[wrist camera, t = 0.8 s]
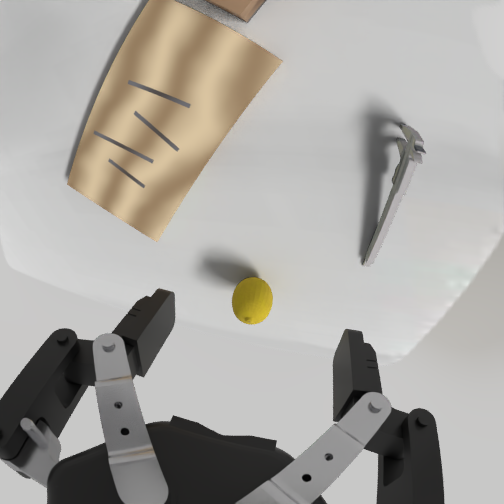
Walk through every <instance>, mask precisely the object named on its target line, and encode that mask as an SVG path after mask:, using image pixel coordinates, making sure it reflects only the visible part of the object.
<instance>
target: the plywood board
mask: <svg viewBox="0 0 504 504" xmlns="http://www.w3.org/2000/svg"><path fill="white" fill-rule="evenodd" d="M282 62H283V61H282V60H280V59H279V58H277V57H276V56H274V55H273V54H271V53H270V52H268V51H267V50H265V49H264V48H262V47H260V46H259V45H257V44H256V43H254V42H252V41H251V40H249V39H247V38H246V37H244V36H242V35H241V34H239V33H237V32H236V31H234V30H232V29H230V28H229V27H227V26H225V25H223V24H221V23H219V22H218V21H216V20H214V19H212V18H210V17H208V16H206V15H204V14H202V13H200V12H198V11H196V10H194V9H192V8H190V7H188V6H186V5H183V4H181V3H179V2H177V1H175V0H149V1H148V3H147V4H146V6H145V7H144V9H143V10H142V12H141V14H140V15H139V17H138V18H137V20H136V22H135V23H134V25H133V27H132V28H131V30H130V32H129V34H128V35H127V37H126V39H125V41H124V43H123V44H122V46H121V48H120V50H119V52H118V54H117V56H116V58H115V60H114V62H113V64H112V66H111V68H110V70H109V72H108V74H107V76H106V78H105V80H104V83H103V85H102V87H101V89H100V92H99V94H98V96H97V99H96V101H95V103H94V106H93V108H92V111H91V113H90V116H89V118H88V121H87V124H86V126H85V129H84V132H83V135H82V138H81V140H80V143H79V146H78V149H77V152H76V156H75V159H74V162H73V165H72V169H71V172H70V176H69V179H68V183H67V185H69V186H70V187H72V188H73V189H75V190H76V191H78V192H79V193H81V194H82V195H84V196H85V197H87V198H88V199H90V200H91V201H93V202H94V203H96V204H98V205H99V206H101V207H102V208H104V209H105V210H107V211H108V212H110V213H111V214H113V215H115V216H116V217H118V218H119V219H121V220H122V221H124V222H126V223H127V224H129V225H130V226H132V227H134V228H135V229H137V230H138V231H140V232H142V233H143V234H145V235H146V236H148V237H150V238H151V239H153V240H154V241H156V242H158V240H159V238H160V237H161V235H162V233H163V231H164V230H165V228H166V226H167V225H168V223H169V221H170V220H171V218H172V217H173V215H174V213H175V212H176V210H177V208H178V207H179V205H180V204H181V202H182V200H183V199H184V197H185V196H186V194H187V193H188V191H189V189H190V188H191V186H192V185H193V183H194V182H195V180H196V179H197V177H198V176H199V174H200V173H201V171H202V170H203V168H204V167H205V165H206V164H207V162H208V161H209V159H210V158H211V156H212V155H213V153H214V152H215V150H216V149H217V148H218V146H219V145H220V143H221V142H222V140H223V139H224V138H225V136H226V135H227V133H228V132H229V131H230V129H231V128H232V126H233V125H234V124H235V122H236V121H237V119H238V118H239V117H240V115H241V114H242V113H243V111H244V110H245V109H246V107H247V106H248V105H249V103H250V102H251V101H252V99H253V98H254V97H255V95H256V94H257V93H258V92H259V90H260V89H261V88H262V86H263V85H264V84H265V83H266V81H267V80H268V79H269V78H270V76H271V75H272V74H273V73H274V71H275V70H276V69H277V68H278V66H279V65H280V64H281V63H282Z"/></svg>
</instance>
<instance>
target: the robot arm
mask: <svg viewBox="0 0 504 504" xmlns="http://www.w3.org/2000/svg"><path fill="white" fill-rule="evenodd" d="M174 323H175V295H174V292H171V291H167V290H163V289H157V290H156V291H155V293H154V294H153V295H152V296H151V297H149V296H145V297H144V298H142V299H140V300H138V301H137V302H136V303H135V305H134V306H133V307H132V309H130V311H129V312H128V314H126V316H125V317H124V318H123V319H122V321H121V322H120V323H119V324H118V326H117V327H116V328H115V330H114V331H113V332H112V333H107V334H102V335H100V336H98V337H97V338H96V339H95V340H94V341H91V340H81V339H78V338H77V335H76V333H75V332H74V331H73V330H71V329H65V328H64V329H59V330H56V331H55V332H53V333H52V334H51V335H50V337H49V338H48V339H47V340H46V341H45V342H44V344H43V345H42V346H41V347H40V349H39V350H38V351H37V352H36V353H35V355H34V356H33V357H32V358H31V360H30V361H29V362H28V364H27V365H26V366H25V368H24V369H23V370H22V371H21V373H20V374H19V375H18V376H17V378H16V379H15V380H14V382H13V383H12V384H11V386H10V387H9V389H8V390H7V391H6V393H5V394H4V395H3V397H2V398H1V400H0V459H1V460H2V461H3V462H4V463H5V464H7V465H8V466H9V467H10V468H12V469H13V470H15V471H16V472H18V473H19V474H20V475H22V476H23V477H25V478H29V479H30V478H32V479H33V480H35V481H36V482H38V483H40V484H41V485H43V486H44V487H46V488H47V504H327V503H326V501H325V500H324V499H323V497H322V496H321V494H322V493H323V492H324V491H325V490H326V489H327V488H328V487H329V486H330V485H331V484H332V483H333V482H334V481H335V480H336V479H337V477H339V476H340V474H341V473H342V472H343V471H344V470H345V469H346V468H347V467H348V466H349V464H351V462H352V461H353V460H354V459H355V458H356V457H357V455H358V454H359V453H360V452H361V451H362V450H363V449H366V450H369V451H371V452H374V453H377V454H378V487H377V488H378V489H377V504H444V487H443V474H442V464H441V456H440V448H439V440H438V434H437V427H436V422H435V418H434V417H433V415H432V414H431V413H430V412H428V411H427V410H425V409H421V408H418V409H414V410H412V411H411V412H410V413H409V414H408V413H405V412H402V411H399V410H396V409H394V408H392V407H391V404H390V402H389V400H388V399H387V398H386V397H385V396H384V395H383V394H382V388H381V382H380V376H379V370H378V363H377V358H376V352H375V351H374V349H373V348H372V346H371V345H370V344H369V343H364V340H363V334H362V332H361V331H356V330H350V329H345V331H344V333H343V335H342V338H341V340H340V343H339V345H338V347H337V350H336V352H335V355H334V359H333V421H335V422H338V423H337V424H334V425H332V427H330V428H329V429H328V430H327V431H326V432H325V433H324V434H323V435H322V436H321V437H320V438H319V439H318V440H317V441H316V442H314V443H313V444H312V445H311V446H310V447H309V448H308V449H307V450H305V451H304V452H303V453H302V454H301V455H300V456H299V457H298V458H296V459H294V458H293V457H292V456H291V455H289V454H288V453H286V452H285V451H283V450H281V449H279V448H276V442H277V441H276V440H270V439H265V438H260V437H255V436H225V435H221V434H218V433H216V432H214V431H212V430H210V429H208V428H206V427H205V426H203V425H201V424H199V423H197V422H193V421H190V420H187V419H183V418H180V417H177V416H173V417H172V419H171V421H170V422H168V421H160V422H153V423H148V424H145V422H144V419H143V416H142V412H141V409H140V406H139V402H138V399H137V395H136V391H135V387H134V384H133V379H134V377H135V375H139V376H142V377H144V376H145V374H146V373H147V371H148V369H149V368H150V366H151V364H152V363H153V361H154V359H155V357H156V355H157V354H158V352H159V351H160V349H161V347H162V346H163V344H164V342H165V340H166V339H167V337H168V336H169V334H170V332H171V331H172V328H173V326H174ZM88 386H95V389H96V395H97V402H98V407H99V413H100V419H101V424H102V428H103V433H104V438H105V443H103V444H100V445H98V446H96V447H93V448H91V449H88V450H86V451H84V452H81V453H78V454H76V455H73V456H70V457H68V458H65V459H63V460H61V461H59V455H60V452H61V445H60V442H59V440H58V437H59V436H60V434H61V432H62V430H63V428H64V427H65V425H66V423H67V421H68V419H69V418H70V416H71V414H72V413H73V411H74V409H75V407H76V406H77V404H78V402H79V401H80V399H81V397H82V396H83V394H84V392H85V391H86V389H87V387H88Z"/></svg>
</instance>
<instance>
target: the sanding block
mask: <svg viewBox="0 0 504 504" xmlns="http://www.w3.org/2000/svg"><path fill="white" fill-rule="evenodd" d="M205 1H207V2H209V3H211V4H213V5H215V6H217V7H219V8H221V9H223V10H225V11H227V12H229V13H231V14H233V15H234V16H236V17H238V18H240V19H242V20H244V21H245V22H247V23H248V22H249V21H250V20H251V18H252V17H253V16H254V15H255V13H256V12H257V11H258V10H259V9H260V7H261V6H262V5H263V4H264V3H265V1H266V0H205Z"/></svg>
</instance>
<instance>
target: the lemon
mask: <svg viewBox="0 0 504 504" xmlns="http://www.w3.org/2000/svg"><path fill="white" fill-rule="evenodd" d="M272 301H273V296H272V292H271V289H270V287H269V285H268V284H267V283H266V282H265V281H264V280H262V279H260V278H256V277H250V278H246V279H244V280H242V281H241V282H240V283H239V284H238V285H237V286H236V288H235V290H234V293H233V297H232V307H233V311H234V314H235V315H236V317H237V318H238V319H239V320H240V321H242V322H243V323H246V324H257V323H260V322H262V321H263V320H264V319H265V318H266V317H267V316H268V314H269V312H270V310H271V307H272Z"/></svg>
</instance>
